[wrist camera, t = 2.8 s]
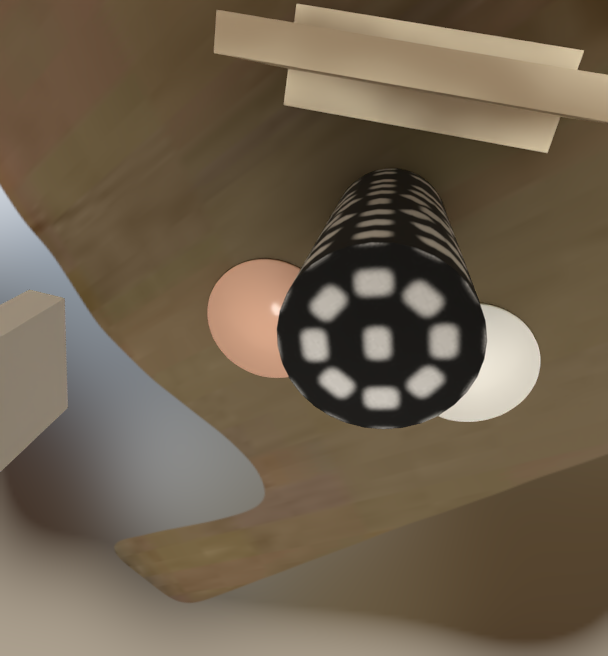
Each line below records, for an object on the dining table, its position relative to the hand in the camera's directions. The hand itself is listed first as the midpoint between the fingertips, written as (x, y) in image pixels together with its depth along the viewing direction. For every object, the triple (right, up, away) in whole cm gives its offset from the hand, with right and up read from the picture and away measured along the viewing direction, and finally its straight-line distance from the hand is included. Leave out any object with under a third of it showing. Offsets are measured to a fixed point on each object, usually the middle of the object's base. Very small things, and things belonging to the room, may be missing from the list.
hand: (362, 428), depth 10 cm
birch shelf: (+7, +19, +23) cm, 30 cm away
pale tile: (+12, -1, +31) cm, 34 cm away
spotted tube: (+5, +10, +28) cm, 30 cm away
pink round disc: (-4, +3, +33) cm, 33 cm away
